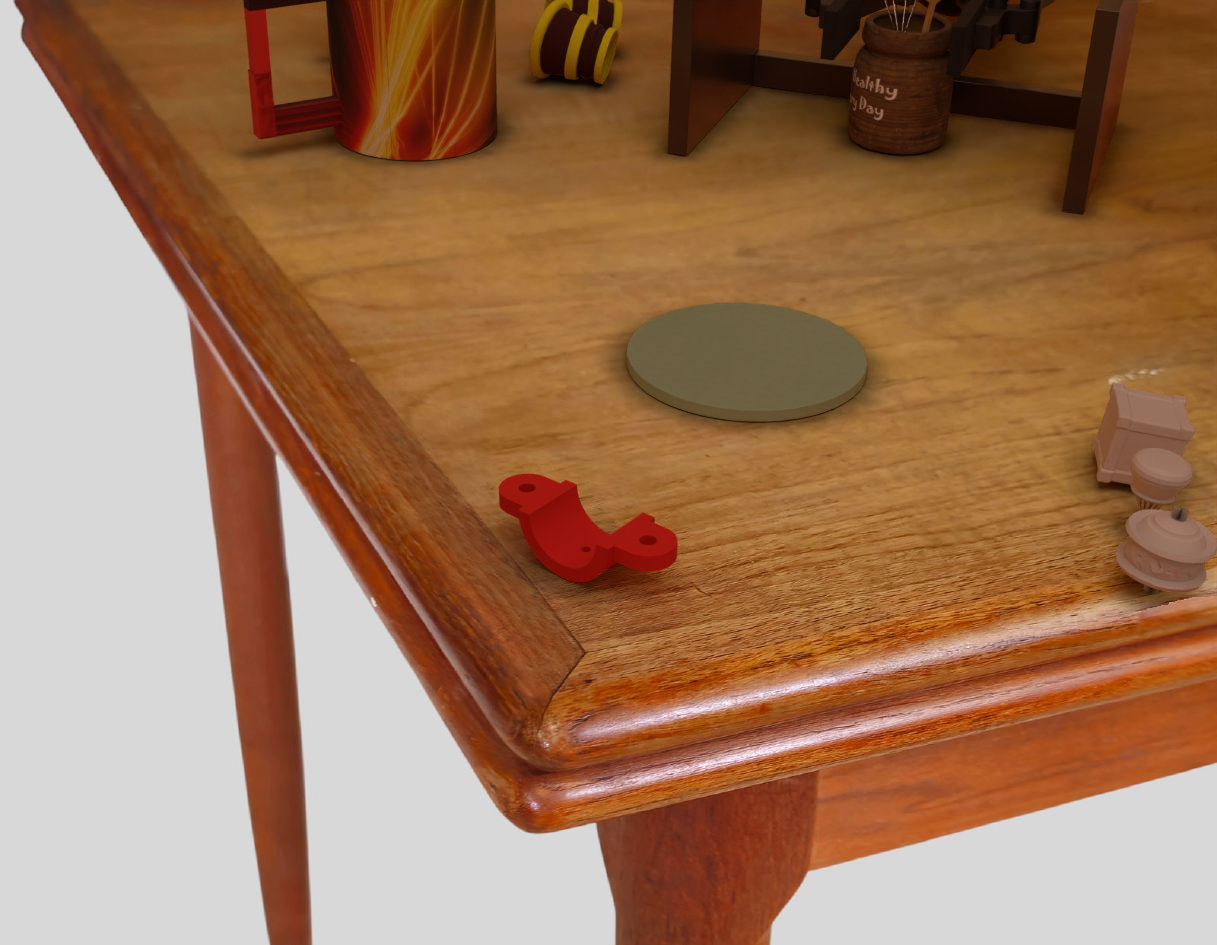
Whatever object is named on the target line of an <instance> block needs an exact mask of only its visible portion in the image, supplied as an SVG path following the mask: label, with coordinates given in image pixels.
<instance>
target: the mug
mask: <svg viewBox="0 0 1217 945" xmlns="http://www.w3.org/2000/svg"><path fill="white" fill-rule="evenodd" d="M242 2H243V12H244V23H245V33H246V34H245V35H246V45H247V56H248V68H249V69H247V76H248V87H249V98H250V99H249V100H250V110H251V119H252V131H253V132H252V133H253V135H254V136H255V137H256V138H257V139H258V140H267V139H275V138H277V137H284V136H289V135H294V134H299V133H300V134H301V133H306V132H311V131H312V132H313V131H316V130H317V131H318V130H323V129H329V128H333V132H334V137H335V139H336V141H337V142H338V143H339V144H340V145H342V146H343V147H345V148H347V149H348V150H350V151H352V152H355V153H358V154H360V155H364V156H369V157H373V158H378V159H379V158H380V159H386V160H393V161H394V160H396V161H432V160H442V159H450V158H454V157H461V156H464V155H467V154H470V153H474V152H477V151H479V150H481V149H483V148H485V147H486V146H487V147H488V145H490V144H491V143H492V142H494V140H495V139H496V137H497V135H498V97H497V96H498V88H497V85H498V84H497V82H498V81H497V14H496V13H497V12H496V10H497V9H496V5H497V4H496V0H242ZM321 2H325V8H326V23H327V38H328V52H329V54H328V55H329V67H330V68H329V69H330V70H329V71H330V87H331V95H329V96H323V97H322V96H321V97H316V98H310V99H303V100H297V101H292V102H285V103H279V104H275V102H274V93H273V92H274V90H273V79H272V78H273V76H272V67H271V66H272V65H271V55H270V54H271V52H270V43H269V31H268V30H269V28H268V18H267V10H270V9H271V10H273V9H279V8H287V7H293V6H300V5H306V4H314V3H315V4H316V3H321Z"/></svg>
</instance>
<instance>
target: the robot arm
mask: <svg viewBox="0 0 1217 945" xmlns="http://www.w3.org/2000/svg"><path fill="white" fill-rule="evenodd" d="M885 1H887V5H888V8H889V7H891V6H896V0H894V5H893V0H805V1H804V2H805V3H804V15H805V16H807V17H810V18H818V24H817V25H818V28H819V29H821V30H822V35H821V45H820V56H819V57H820V59H825V60H834V59H837V57H838V56H839V55H840V53H841V52H842V51H843V50H844V49H845V47H846V46H847V45H848V44H849V42H851V40H852V39H853V38H854V36H856V34H857V33H858V32H859V31H860V29H861V20H862V18H864V17H868V16H869V15H871V14H873V13H876V12H879V11H883V10H884V9H887V7H886V3H885ZM916 2H917V4H918V3H920V4H921V6H923V7H925V9H928V6H929V2H928V1H926V0H918V1H917V0H916ZM916 2H915V0H910V3H909V0H906V6H905V0H897V6H898V7H899V6H900V7H904V8H908V4H909V7H911V6H914V3H915V5H917V4H916ZM1054 2H1055V0H1019V3H1009V0H941V1H939V2H938V3H937V4H936V6H935V9H934V13H935V14H937V15H940V16H944V17H945V16H946V17H951V18H952V17H954V18H956V17H957V18H956V20H955V21H954V23H952V25H953V26H952V32H951V40H950V48H949V49H948V51H949V56H948V64H947V71H946V75H949V76H957V77H960V75H962V74H963V72H964V71H965V69H966V68H967V66H968V64H969V63H970V61H971V59H972V58H973V56H974V55H975V53H976V51H977V50H984V51H990V50H993V49H995V48H996V46H997V44H998V43H1001V42H1003V39H1004V36H1009V35H1014V41H1015V42H1017V43H1020V44H1022V45H1031V44H1033V43H1035V42H1036V40H1037V36H1038V30H1039V25H1040V23H1041V22H1040V21H1041V18H1042V17H1041V16H1042V13H1043V9H1045V8H1047V7H1048V6H1050V5H1052V4H1054Z"/></svg>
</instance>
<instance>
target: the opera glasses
mask: <svg viewBox="0 0 1217 945" xmlns="http://www.w3.org/2000/svg"><path fill="white" fill-rule="evenodd" d="M622 20H623V1H621V0H612V1H609V0H545V1H544V6H543V13H542V15H540V18H539V20H538V22H537V24H536V26H535V28H534V31H533V34H532V37H531V39H530V44H529V53H528V64H529V69H530V72H531V74H532V76H534V77H535V78H537V79H540V80H542V79H543V80H544V79H547V78H548V77H550V76H551V75H557V76H564V78H565V79H567V80H575V81H576V80H578V79H579V78H582V79H584V80H585V81H588V80H589V79H590V78H592V79H593V82H595V83H596V84H599V85H603V84H604V83H605V82H606V80H607V78H608V77H609V73H610V71H611V68H612V66H613V62H614V60H615V55H616V51H617V46H618V42H619V37H620V32H621V27H622Z"/></svg>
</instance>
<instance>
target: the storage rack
mask: <svg viewBox="0 0 1217 945" xmlns="http://www.w3.org/2000/svg"><path fill="white" fill-rule="evenodd" d="M672 3H673V4H672V6H673V7H672V28H671V29H672V30H671V52H670V53H671V54H670V77H669V78H670V79H669V102H668V124H667V126H668V127H667V128H668V129H667V151H666V152H667V154H670V155H678V156H685V157H688V155H689V154H690V153H691V152H692V150H693V149H695V147H696V146H697V145H698V144H699V143H700V142H701V141H702V140H703V139H704V138H705V136H706V135H708V133H709V132H710V131H712V129H713V128H714V127H715V126H716V124H718V122H719V121H720V120H721V119H722V118H723V117H724V116H725V115H726V114H728V112H729V110H730V109H732V108H733V106H734V105H735V104H736V103H737V102H738V101H739V100H740V99H741V98H742V97H743V95H745V93H746V92H747V91H748V90H749V89H750V88H751V87H752V86H755V87H761V88H769V89H776V90H785V91H791V92H800V93H806V94H814V95H820V96H821V95H822V96H829V97H836V98H844V99H850V92H851V82H852V74H853V67H854V62H855V60H854V61H853V60H845V59H838V58H835V59H834V60H825V59H820V57H821V56H814V55H808V54H807V55H806V54H799V53H791V52H783V51H775V50H769V49H760V39H761V25H762V11H763V10H762V9H763V0H673V2H672ZM1139 3H1140V0H1099V2H1098V4H1097V7H1096V8H1095V12H1094V18H1093V19H1094V20H1093V24H1092V30H1091V37H1090V43H1089V48H1088V54H1087V60H1086V65H1085V71H1084V76H1083V83H1082V88H1081V90H1077V89H1069V88H1062V87H1054V86H1046V85H1039V84H1032V83H1023V82H1016V81H1009V80H1001V79H994V78H993V79H992V78H986V77H977V76H970V75H962V74H961V75H960V77H957V76H954V82H953V91H952V99H951V106H950V113H955V114H963V115H970V116H978V117H984V118H991V119H1000V120H1006V121H1014V122H1022V123H1023V122H1024V123H1028V124H1029V123H1031V124H1037V125H1044V126H1051V127H1058V128H1065V129H1066V128H1067V129H1074V135H1073V141H1072V147H1071V153H1070V159H1069V165H1068V170H1067V177H1066V182H1065V187H1064V193H1063V200H1062V206H1061V211H1062V212H1066V213H1072V214H1079V215H1084V213H1085V211H1086V208H1087V206H1088V202H1089V200H1090V198H1091V195H1092V193H1093V190H1094V187H1095V184H1096V181H1097V179H1098V176H1099V173H1100V171H1101V168H1102V165H1103V162H1104V159H1105V157H1106V155H1107V152H1108V149H1109V147H1110V144H1111V142H1112V139H1113V136H1114V133H1115V130H1116V128H1117V123H1118V117H1119V111H1120V107H1121V101H1122V95H1123V92H1124V85H1125V80H1126V73H1127V68H1128V65H1129V64H1128V62H1129V58H1130V52H1131V47H1132V46H1131V45H1132V41H1133V35H1134V31H1135V26H1136V20H1137V15H1138V10H1139V9H1138V8H1139Z"/></svg>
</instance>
